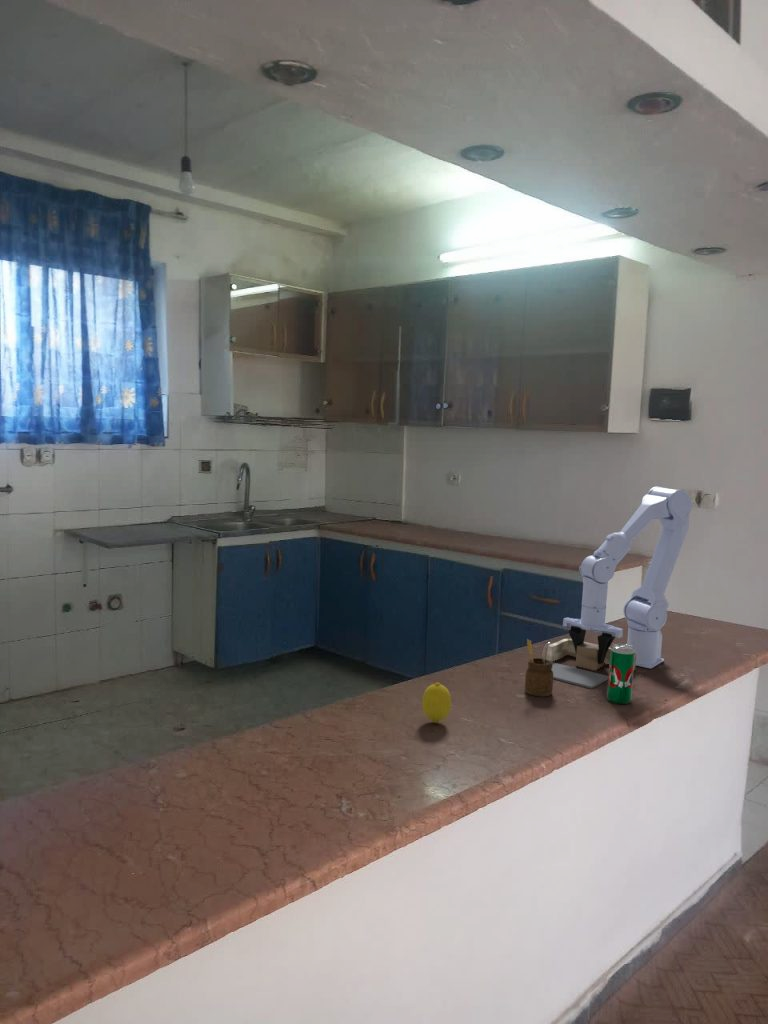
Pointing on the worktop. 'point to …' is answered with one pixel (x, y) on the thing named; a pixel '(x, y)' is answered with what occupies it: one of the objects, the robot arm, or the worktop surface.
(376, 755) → the worktop surface
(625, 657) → the soda can
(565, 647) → the beige angled piece
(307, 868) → the worktop surface
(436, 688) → the lemon
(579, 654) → the wooden cube
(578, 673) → the rubber mat
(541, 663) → the utensil holder
